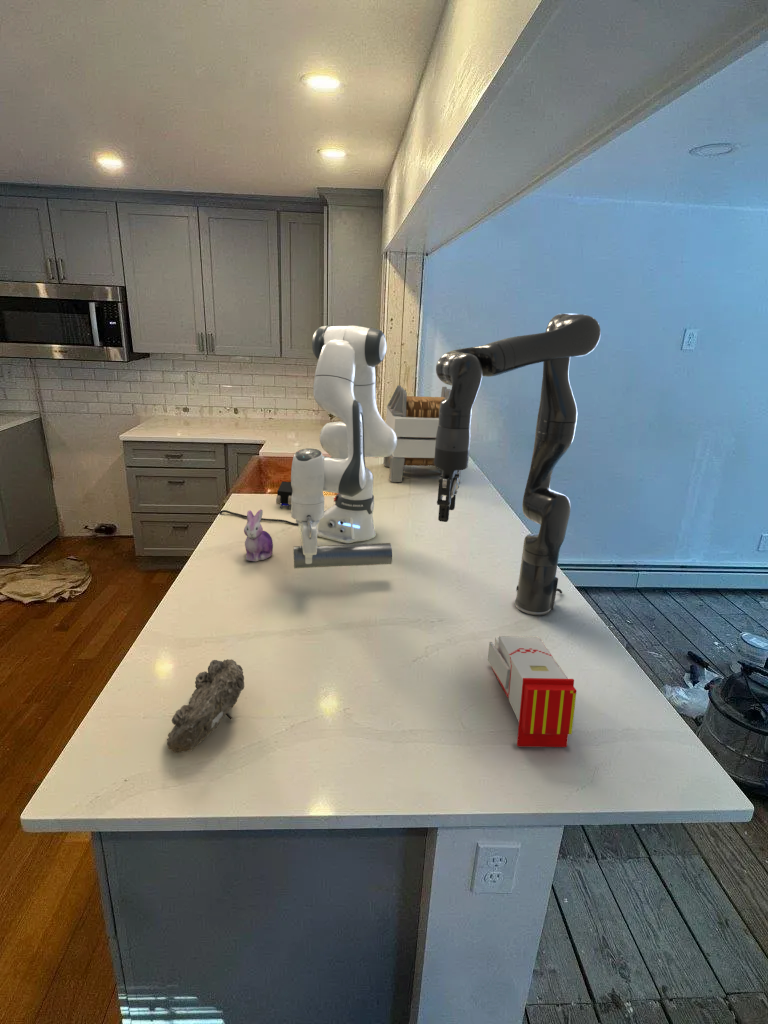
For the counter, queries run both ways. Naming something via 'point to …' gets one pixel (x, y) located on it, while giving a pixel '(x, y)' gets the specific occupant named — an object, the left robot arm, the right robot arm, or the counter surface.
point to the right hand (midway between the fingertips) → (446, 515)
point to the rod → (345, 555)
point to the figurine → (257, 538)
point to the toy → (534, 690)
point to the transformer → (413, 430)
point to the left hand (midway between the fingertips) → (307, 557)
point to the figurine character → (284, 494)
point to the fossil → (206, 705)
